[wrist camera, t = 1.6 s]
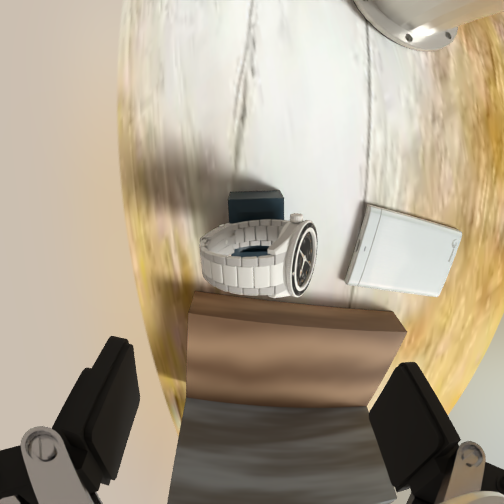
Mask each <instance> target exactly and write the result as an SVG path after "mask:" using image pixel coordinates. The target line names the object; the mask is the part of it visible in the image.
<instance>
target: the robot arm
mask: <svg viewBox="0 0 504 504" xmlns="http://www.w3.org/2000/svg"><path fill="white" fill-rule="evenodd" d="M353 1H354V2H355V4H356V6H357V7H358V9H359V10H360V12H361V13H362V14H363V15H364V17H365V18H366V19H367V20H368V21H369V22H370V23H371V24H372V25H373V26H374V27H375V28H376V29H377V30H379V31H380V32H381V33H382V34H384V35H385V36H386V37H388V38H390V39H391V40H393V41H394V42H396V43H398V44H400V45H402V46H404V47H407V48H410V49H413V50H416V51H424V52H430V51H436V50H440V49H443V48H445V47H447V46H448V45H450V44H451V43H452V42H453V40H454V39H455V37H456V34H457V30H458V26H460V25H463V24H466V23H468V22H471V21H474V20H477V19H480V18H483V17H487V16H490V15H493V14H496V13H500V12H503V11H504V0H353ZM133 350H134V349H133V345H131V344H129V343H128V340H127V339H124V338H119V337H115V336H111V337H110V338H109V339H108V341H107V343H106V344H105V346H104V348H103V349H102V351H101V353H100V355H99V356H98V358H97V360H96V362H95V363H94V365H93V367H92V369H91V368H85V369H84V370H83V371H82V373H81V375H80V376H79V378H78V380H77V382H76V384H75V386H74V387H73V389H72V391H71V393H70V394H69V396H68V398H67V400H66V402H65V404H64V406H63V407H62V410H61V411H60V413H59V415H58V417H57V419H56V421H55V423H54V425H53V427H52V429H51V428H48V427H43V426H40V427H34V428H32V429H30V430H28V431H27V432H26V433H25V434H24V436H23V438H22V440H21V445H20V446H16V447H12V448H9V449H5V450H1V451H0V504H103V503H102V501H101V500H100V498H99V496H98V494H97V492H96V491H98V490H99V487H100V483H102V484H106V485H109V483H110V480H111V479H112V480H115V479H116V477H117V473H118V470H119V467H120V464H121V460H122V457H123V453H124V450H125V447H126V443H127V440H128V437H129V434H130V430H131V427H132V424H133V421H134V418H135V415H136V412H137V409H138V406H139V401H140V393H139V387H138V380H137V374H136V366H135V358H134V351H133ZM369 420H370V423H371V426H372V429H373V432H374V434H375V437H376V440H377V443H378V446H379V449H380V452H381V455H382V457H383V460H384V463H385V466H386V469H387V472H388V475H389V479H390V482H391V484H392V486H394V487H395V488H396V491H397V492H400V491H403V490H406V489H409V488H410V489H411V495H410V497H409V499H408V501H407V503H406V504H504V470H503V469H501V468H498V467H496V466H494V465H491V464H489V463H487V462H485V453H484V451H483V449H482V448H481V447H480V446H479V445H478V444H476V443H475V442H471V441H467V442H464V443H462V444H461V445H460V446H459V445H458V442H459V441H460V440H461V439H460V437H459V435H458V434H457V432H456V430H455V428H454V426H453V424H452V422H451V421H450V419H449V417H448V415H447V413H446V412H445V410H444V408H443V406H442V405H441V403H440V401H439V399H438V398H437V396H436V394H435V393H434V391H433V389H432V388H431V386H430V384H429V383H428V381H427V379H426V378H425V376H424V374H423V373H422V371H421V369H420V368H419V366H418V365H417V364H416V363H415V362H405V363H401V364H399V366H398V367H396V368H395V370H394V371H393V373H392V375H391V377H390V379H389V380H388V382H387V384H386V386H385V387H384V389H383V391H382V392H381V394H380V396H379V397H378V399H377V401H376V402H375V404H374V405H373V407H372V409H371V410H370V412H369Z"/></svg>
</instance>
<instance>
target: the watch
mask: <svg viewBox="0 0 504 504" xmlns="http://www.w3.org/2000/svg"><path fill="white" fill-rule="evenodd" d="M228 209H229V223H226V224H221V225H219V227H217V228H215V229H213V230H211V231H210V232H208V233H207V234H205V235H204V236H203V237H201V238H200V245H199V246H200V256H201V265H202V273H203V277H204V278H205V280H206V281H208V283H210V284H211V285H213V286H214V287H217V288H218V289H220V290H223V291H226V292H228V291H229V292H230V293H234V294H239V295H243V294H244V295H268V297H271V298H279V297H285V296H290V295H291V296H293V297H300V296H301V295H302V294H303V293H304V292H305V290H306V288H307V287H308V285H309V282H310V280H311V277H312V274H313V271H314V266H315V262H316V255H317V232H316V228H315V225H314V223H313V222H312V221H308V220H305V221H303V215H302V214H298V213H294V214H291V215H290V221H287V220H284V197H283V195H282V194H281V192H280V191H245V192H230V195H229V198H228ZM229 255H231V256H229ZM227 256H228V257H227ZM253 270H254V278H253ZM258 288H259V290H258Z"/></svg>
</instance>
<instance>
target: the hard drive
mask: <svg viewBox="0 0 504 504" xmlns="http://www.w3.org/2000/svg"><path fill="white" fill-rule="evenodd" d="M461 237H462V232H461V231H459V230H457V229H454V228H451V227H448V226H445V225H441V224H438V223H435V222H432V221H428V220H425V219H421V218H418V217H414V216H411V215H407V214H403V213H400V212H396V211H392V210H389V209H384V208H380V207H377V206H373V205H369V204H368V205H367V209H366V212H365V216H364V220H363V223H362V227H361V230H360V233H359V237H358V240H357V243H356V247H355V250H354V253H353V256H352V260H351V263H350V266H349V269H348V272H347V275H346V278H345V283H346V284H347V285H352V286H359V287H367V288H374V289H381V290H388V291H395V292H402V293H410V294H417V295H425V296H432V297H438V296H439V295H440V292H441V290H442V288H443V285H444V283H445V281H446V278H447V276H448V273H449V271H450V268H451V265H452V263H453V260H454V257H455V255H456V252H457V249H458V246H459V243H460V240H461Z"/></svg>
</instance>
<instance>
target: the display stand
mask: <svg viewBox="0 0 504 504" xmlns="http://www.w3.org/2000/svg"><path fill="white" fill-rule="evenodd" d="M406 333H407V331H406V330H405V328H404V327H403V325H402V324H401V322H400V321H399V319H398V318H397V317H396V315H395V314H394V312H390V311H375V310H362V309H350V308H338V307H327V306H316V305H306V304H296V303H287V302H278V301H269V300H261V299H252V298H244V297H236V296H228V295H221V294H214V293H206V292H199V291H195V293H194V296H193V300H192V303H191V306H190V309H189V313H188V335H187V377H186V402H185V407H184V412H183V417H182V422H181V428H180V433H179V438H178V444H177V449H176V455H175V461H174V466H173V472H172V478H171V484H170V490H169V497H168V503H167V504H390V503H392V502H393V501H394V500H396V499H397V496H396V493H395V490H394V486H392V484H391V482H390V479H389V475H388V472H387V469H386V466H385V463H384V460H383V457H382V455H381V452H380V449H379V446H378V443H377V440H376V437H375V434H374V432H373V429H372V426H371V423H370V420H369V411H368V409H367V405H368V403H369V401H370V400H371V398H372V397H373V395H374V393H375V391H376V390H377V388H378V386H379V385H380V383H381V381H382V379H383V378H384V376H385V374H386V372H387V371H388V369H389V367H390V365H391V363H392V361H393V359H394V357H395V356H396V354H397V352H398V350H399V348H400V346H401V344H402V342H403V340H404V338H405V336H406Z"/></svg>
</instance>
